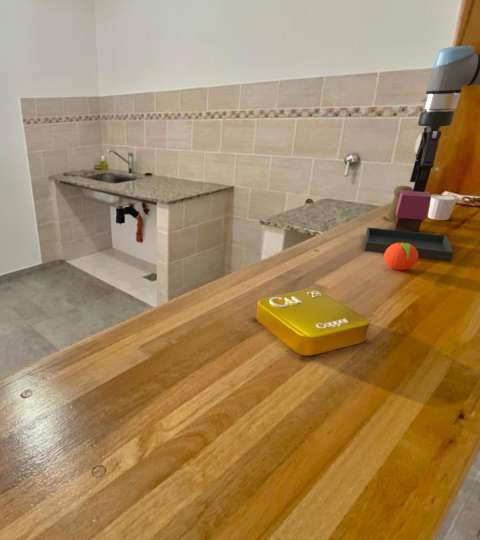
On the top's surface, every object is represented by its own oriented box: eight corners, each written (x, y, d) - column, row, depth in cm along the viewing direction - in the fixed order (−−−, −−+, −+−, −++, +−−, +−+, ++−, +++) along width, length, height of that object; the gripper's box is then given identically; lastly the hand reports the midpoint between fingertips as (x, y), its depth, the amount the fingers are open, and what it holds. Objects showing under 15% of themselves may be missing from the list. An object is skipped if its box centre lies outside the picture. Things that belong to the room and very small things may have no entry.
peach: (420, 277, 92) (428, 250, 89) (386, 275, 94) (393, 248, 91) (409, 264, 98) (416, 238, 96) (378, 262, 101) (384, 237, 98)
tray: (443, 243, 110) (446, 235, 109) (450, 261, 99) (453, 252, 98) (365, 235, 119) (367, 227, 118) (364, 250, 108) (366, 242, 107)
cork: (385, 214, 136) (393, 184, 132) (406, 216, 133) (414, 185, 129) (386, 219, 132) (393, 187, 127) (407, 221, 129) (416, 188, 124)
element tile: (302, 359, 67) (306, 336, 65) (251, 317, 80) (253, 297, 78) (370, 341, 70) (376, 319, 68) (311, 303, 83) (314, 284, 81)
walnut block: (416, 229, 121) (420, 213, 119) (417, 234, 117) (422, 219, 115) (393, 226, 124) (397, 212, 122) (394, 232, 120) (398, 217, 118)
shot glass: (431, 220, 128) (437, 200, 125) (421, 214, 134) (427, 195, 131) (455, 220, 126) (462, 200, 124) (444, 214, 132) (450, 195, 130)
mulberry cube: (422, 213, 120) (428, 191, 117) (424, 219, 114) (431, 196, 111) (395, 211, 123) (401, 190, 120) (396, 217, 118) (402, 195, 115)
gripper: (417, 108, 117) (399, 177, 126) (425, 113, 98) (403, 194, 107) (448, 107, 114) (428, 179, 123) (462, 113, 95) (437, 197, 104)
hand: (416, 186), depth 115 cm, fingers open, 13 cm apart
